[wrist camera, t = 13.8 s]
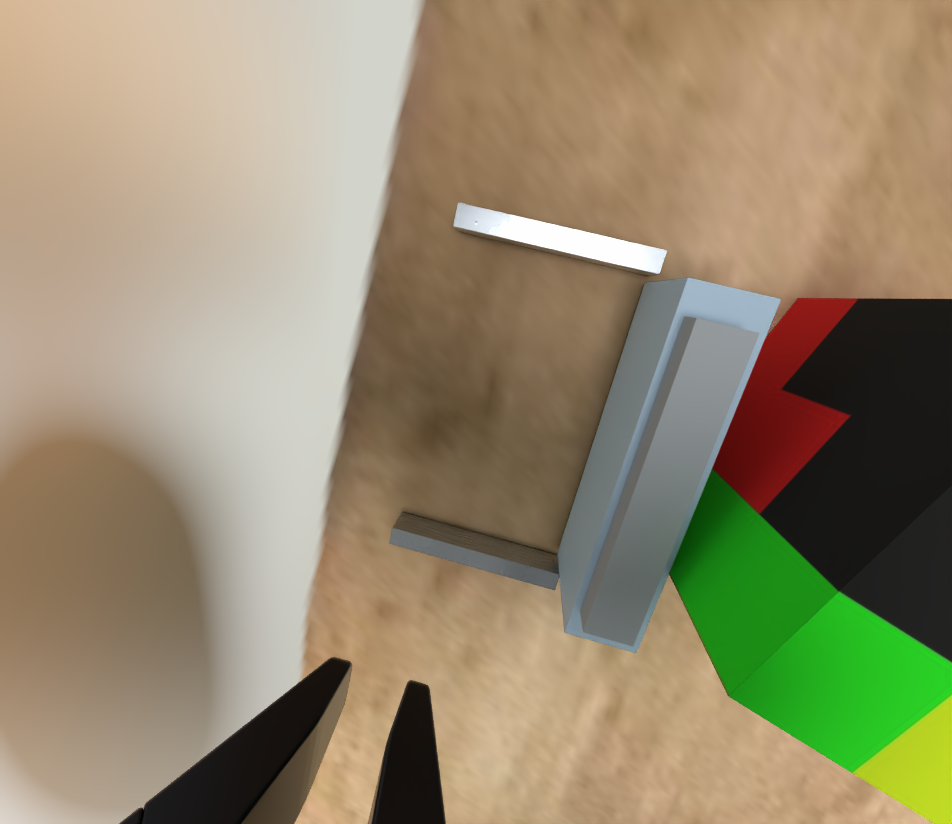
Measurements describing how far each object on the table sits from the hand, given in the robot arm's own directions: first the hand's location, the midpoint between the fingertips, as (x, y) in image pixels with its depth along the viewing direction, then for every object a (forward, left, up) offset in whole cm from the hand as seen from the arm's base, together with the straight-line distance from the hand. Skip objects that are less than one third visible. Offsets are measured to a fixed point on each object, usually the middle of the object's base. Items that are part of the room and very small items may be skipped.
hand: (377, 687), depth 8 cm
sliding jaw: (+3, -6, -12) cm, 14 cm away
